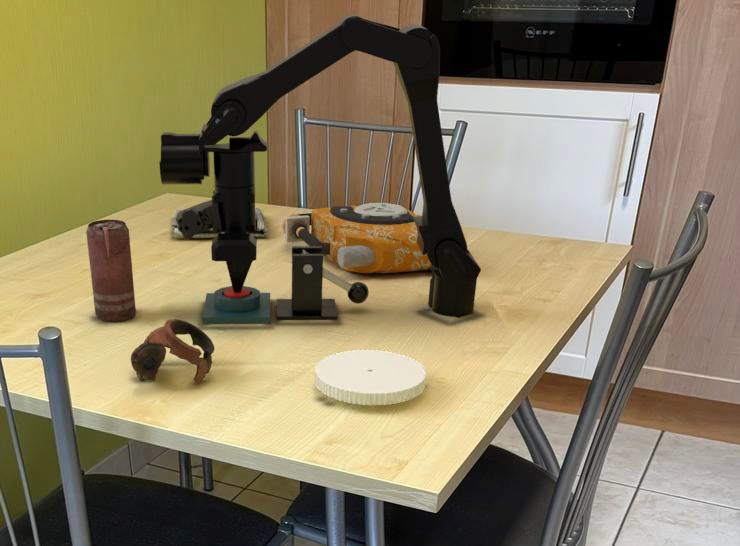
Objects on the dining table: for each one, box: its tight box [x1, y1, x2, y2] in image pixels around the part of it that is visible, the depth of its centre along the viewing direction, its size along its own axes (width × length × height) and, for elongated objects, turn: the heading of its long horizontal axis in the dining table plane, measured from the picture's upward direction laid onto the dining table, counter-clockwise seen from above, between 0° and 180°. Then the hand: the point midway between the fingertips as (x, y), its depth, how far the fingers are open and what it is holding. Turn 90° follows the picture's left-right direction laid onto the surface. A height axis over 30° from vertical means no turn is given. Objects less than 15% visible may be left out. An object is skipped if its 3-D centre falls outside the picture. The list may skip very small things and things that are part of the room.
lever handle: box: [301, 250, 370, 304], centre depth 138 cm, size 12×3×3 cm
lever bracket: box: [276, 245, 339, 321], centre depth 138 cm, size 9×8×10 cm
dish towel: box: [170, 207, 269, 239], centre depth 183 cm, size 19×18×3 cm
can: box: [85, 219, 137, 323], centre depth 137 cm, size 6×6×14 cm
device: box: [281, 202, 438, 274], centre depth 163 cm, size 23×8×30 cm
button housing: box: [201, 285, 271, 325], centre depth 140 cm, size 10×11×4 cm
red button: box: [224, 288, 250, 298], centre depth 139 cm, size 4×4×2 cm
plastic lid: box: [313, 349, 427, 406], centre depth 117 cm, size 14×14×2 cm
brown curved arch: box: [130, 318, 215, 384], centre depth 119 cm, size 12×10×8 cm
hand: (237, 291), depth 139 cm, fingers closed, pressing on red button
